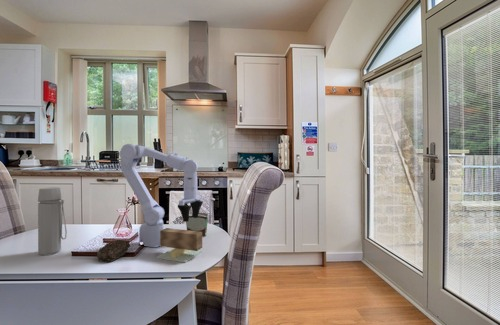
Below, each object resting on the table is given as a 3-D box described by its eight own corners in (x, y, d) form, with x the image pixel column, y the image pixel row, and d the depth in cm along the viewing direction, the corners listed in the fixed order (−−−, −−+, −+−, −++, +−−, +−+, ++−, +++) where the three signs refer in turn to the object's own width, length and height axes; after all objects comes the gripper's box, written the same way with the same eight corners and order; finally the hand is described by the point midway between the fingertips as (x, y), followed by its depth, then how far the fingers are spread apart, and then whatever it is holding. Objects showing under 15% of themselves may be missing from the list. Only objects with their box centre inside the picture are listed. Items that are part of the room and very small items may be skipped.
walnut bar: (160, 246, 101) (160, 230, 101) (166, 243, 105) (166, 228, 105) (196, 251, 96) (196, 234, 96) (202, 247, 100) (202, 231, 100)
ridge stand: (157, 258, 97) (157, 250, 97) (176, 248, 108) (176, 240, 108) (185, 262, 93) (185, 254, 93) (202, 251, 104) (202, 243, 104)
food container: (213, 233, 130) (213, 213, 130) (207, 236, 124) (208, 215, 124) (190, 231, 133) (190, 211, 133) (184, 234, 127) (184, 214, 127)
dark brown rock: (114, 250, 106) (114, 237, 106) (134, 253, 102) (134, 240, 102) (88, 260, 95) (88, 246, 95) (109, 264, 91) (109, 249, 91)
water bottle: (33, 257, 97) (33, 189, 97) (43, 250, 105) (43, 187, 105) (62, 254, 100) (62, 188, 100) (70, 248, 107) (70, 186, 107)
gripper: (189, 190, 106) (189, 224, 106) (207, 186, 119) (207, 216, 119) (174, 189, 108) (174, 222, 108) (193, 186, 122) (193, 215, 122)
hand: (190, 219), depth 114 cm, fingers open, 7 cm apart
